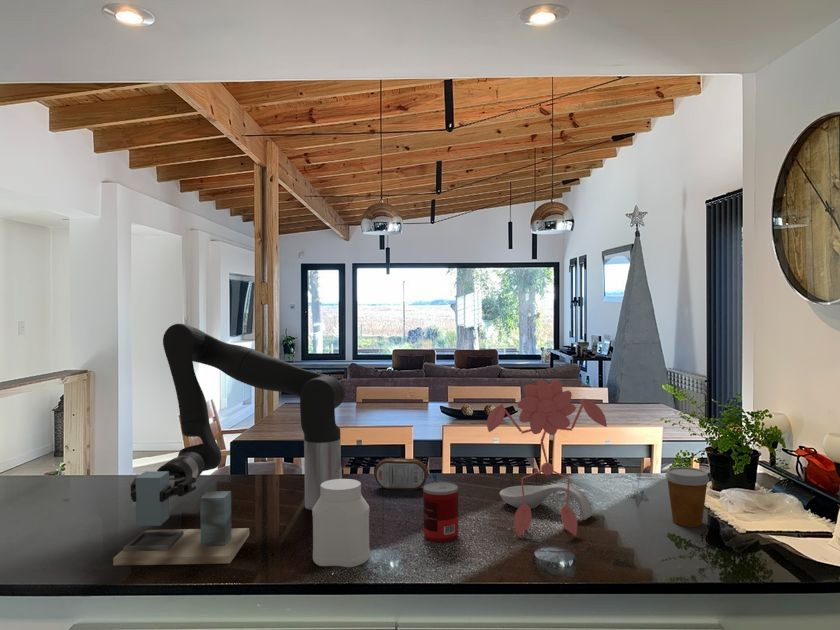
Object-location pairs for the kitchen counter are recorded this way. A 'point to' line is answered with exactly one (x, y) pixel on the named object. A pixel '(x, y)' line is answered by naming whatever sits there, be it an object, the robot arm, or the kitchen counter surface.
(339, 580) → the kitchen counter surface
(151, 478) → the pillar
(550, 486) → the spoon rest
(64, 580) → the kitchen counter surface
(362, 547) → the jar
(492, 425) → the figurine
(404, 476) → the tin
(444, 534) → the canned food
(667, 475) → the disposable coffee cup
